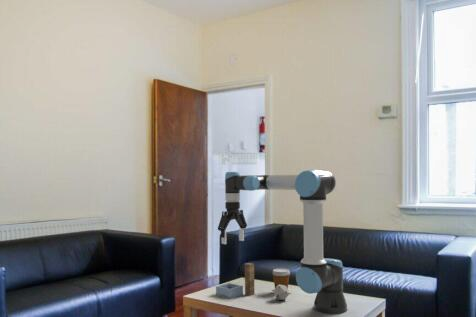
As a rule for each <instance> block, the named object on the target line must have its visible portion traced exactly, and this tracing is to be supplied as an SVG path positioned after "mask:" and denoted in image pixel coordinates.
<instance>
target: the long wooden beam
mask: <svg viewBox="0 0 476 317" xmlns="http://www.w3.org/2000/svg"><path fill="white" fill-rule="evenodd" d="M244 295H245V296H249V297H251V296H253V295H255V263H253V262H248V263H247V262H246V263H244Z"/></svg>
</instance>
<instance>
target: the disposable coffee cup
mask: <svg viewBox="0 0 476 317" xmlns="http://www.w3.org/2000/svg"><path fill="white" fill-rule="evenodd" d="M290 275H291V272H290V269H288V268H274V269H273V270H272V276H273V278H272V279H273V284H274V289H275V288H276V287H277V285H278V284H279V285H286V284H287V289H288V290H289V279H290ZM277 283H278V284H277Z"/></svg>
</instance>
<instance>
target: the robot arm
mask: <svg viewBox="0 0 476 317" xmlns="http://www.w3.org/2000/svg"><path fill="white" fill-rule="evenodd" d="M224 176H225V177H224V178H225V179H224V184H225V185H224V186H225V188H224V189H225V191H224V193H225V205H224V206H225V209H226V211H222V212H221V217H220V220H219V224H218V226H217V231H219V232H220V238H221V244H222V245H227V231H226V229H227V228H228V226H229V224H230V223H231V221H233V220H235V221H236V223H237V225H238V227H239V229H238V241H239V242H244V241H245V229H247V227H248V224H247V222H246V218H245V215H244V210H243V209H241V207H240V206H241V204H240V203H241V202H240V200H241V195H240V194H241V193H240V192H241V191H249V192H250V191H258V190H262V191H264V190H269V191H271V190H278V191H279V190H280V191H284V190H285V191H286V190H287V191H296V193H297V194H298V196H299V201H300V202H301V203H302V204H303V208H302V209H303V212H302V214H303V258H302V259H301V260H300V268H299V269H298V270H297V272H296V275H295V281H296V284H297V286H298V288H300V289H301V291H303V292H304V293H306V294H316V295H315V298H314V302H313V308H314V310H315V311H317V312H321V313H325V314H340V313H341V314H342V313H345V312H347V310H348V304H347V300H346V298H345V295H344V281H343V280H344V279H343V278H344V276H343V275H344V274H343V271H344V270H343V269H344V267H343V262H342V260H340V259H337V258H336V259H335V258H327V257H326V258H325V257H324V211H323V210H324V206H323V204H324V203H325V202H326V200H327V195H329V194H331V193H332V192H333V191H334V189H335V187H336V184H337V182H336V181H337V180H336V178H335V175H334V174H333V173H332V172H330V171H328V170H325V169H307V170H303V171H301V172H300V173H299V174H263V175H262V174H261V175H253V174H252V175H250V174H249V175H241V174H240V172H239V171H227V172H225V175H224Z"/></svg>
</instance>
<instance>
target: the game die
mask: <svg viewBox="0 0 476 317" xmlns="http://www.w3.org/2000/svg"><path fill="white" fill-rule="evenodd" d="M277 284H278V283H277ZM271 291H272V292H273V294H274V296H275V301H277V300H281V301H284V302H286V299H288V296H289V295H291V294H292V293H290V292H289V288H288V289H287V284H286V285H279V284H278V285H277V287H276V288H275V287H274V288H273V289H272V290H271Z"/></svg>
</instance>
